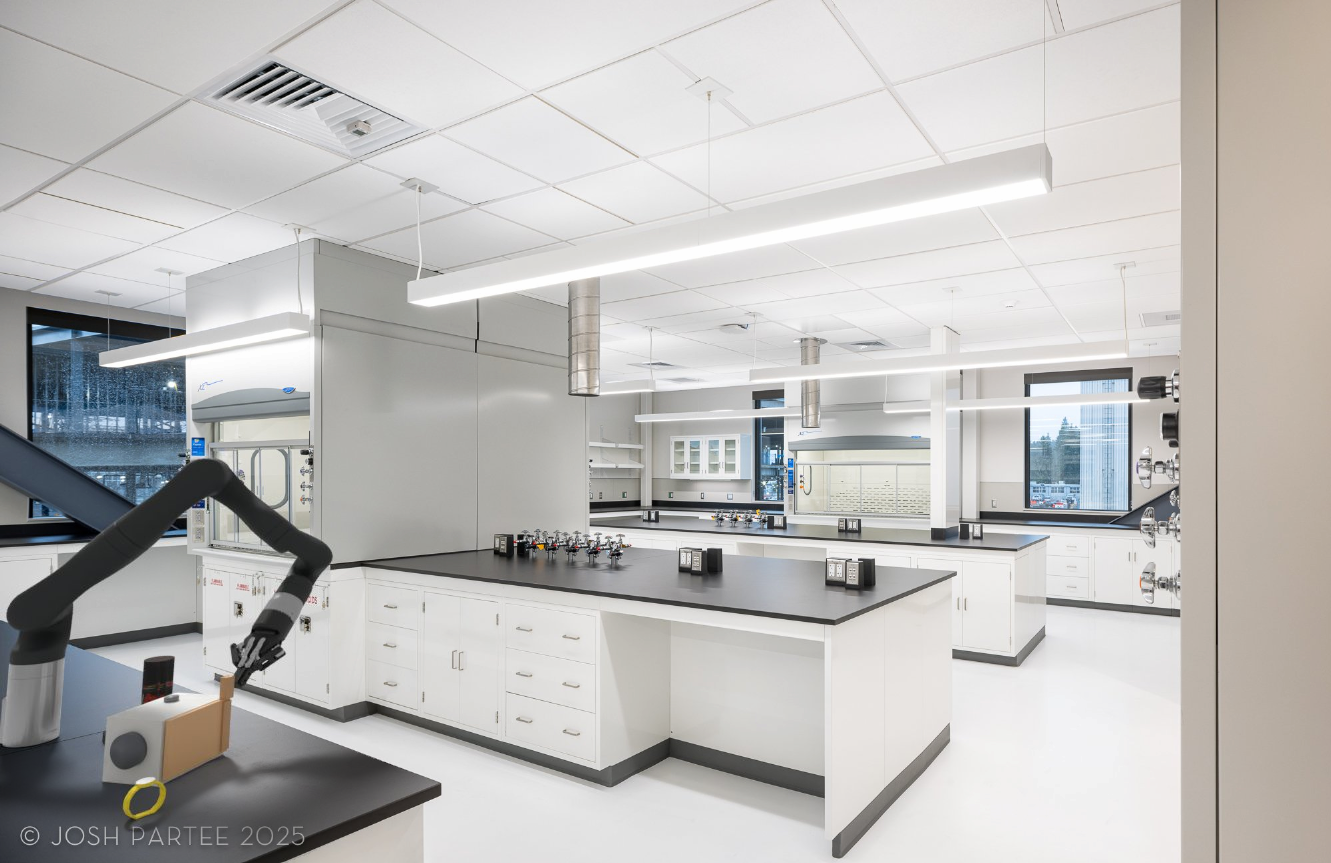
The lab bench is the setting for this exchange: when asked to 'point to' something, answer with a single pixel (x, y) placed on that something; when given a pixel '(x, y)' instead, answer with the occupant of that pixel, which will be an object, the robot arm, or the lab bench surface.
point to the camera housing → (145, 738)
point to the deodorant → (157, 678)
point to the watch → (142, 784)
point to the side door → (198, 733)
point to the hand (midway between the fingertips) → (235, 686)
